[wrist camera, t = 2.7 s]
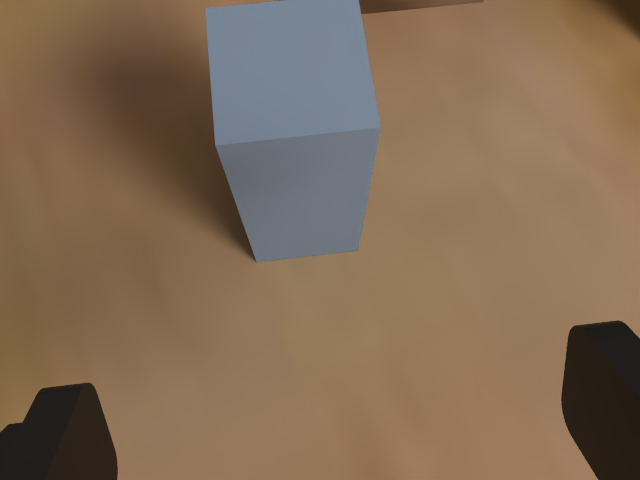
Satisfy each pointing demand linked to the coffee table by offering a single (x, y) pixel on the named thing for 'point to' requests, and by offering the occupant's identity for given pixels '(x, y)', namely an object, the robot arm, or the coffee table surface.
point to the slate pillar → (294, 122)
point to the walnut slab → (406, 4)
